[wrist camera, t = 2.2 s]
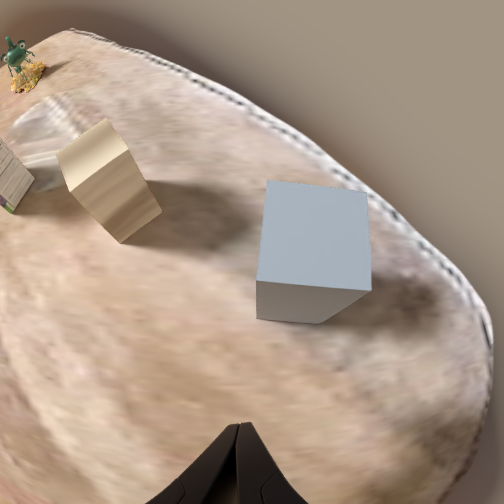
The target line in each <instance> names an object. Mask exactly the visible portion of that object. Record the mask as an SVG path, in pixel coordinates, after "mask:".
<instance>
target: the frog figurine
mask: <svg viewBox="0 0 504 504" xmlns="http://www.w3.org/2000/svg"><path fill="white" fill-rule="evenodd" d="M6 41H7V43H8V45H9V48H10V49H7V51H8V52H9V53H8V55H7V56H5V54H3V55H2V56H1V61H2V58H3V56H5V57H4V59H3V60H4V62H7V64H8V68H9V70H10V72H11V69H10V67H9V65H10V66H11V67H16V69H15V68H14V69H15V70H16V73H17V77H14V78H13V80H14V81H12V85H11V88H12V89H11V91H16V92H20V91H21V90H22V89H25V92H28V91H29V90H31V89H32V88H34V86H35V85H36V82H37V81H38V80H39V79H40V77H41V76H40V75H41V74H42V72H41V71H42V70H43V69H44V68H45V66H46V65H42V63H41V62H38V63H36V64H35V63H34V64H33V63H32V64H31V65H30V64H27V65H26V66H24V67H23V69H22V68H21V63H22V62H23V61H24V60H26V61H27V58H26V56H27V55H29V54H30V53H32V52H30V51H27V50H25V44H24V43H21V42H25V41H24V40H20V41H19V42H18V44H19V43H21V44H20V45H19V46H17V45H16V44H15V45H14V46H13V43H12V41H11V39H10V37H9V36H8V37H6ZM26 52H28V53H29V52H30V53H29V54H26ZM32 55H33V56H35V55H34V54H33V53H32ZM25 58H26V59H25ZM27 62H29V63H30V62H31V61H30V59H29V61H27ZM18 65H19V66H18ZM11 76H12V77H13V75H12V73H11Z"/></svg>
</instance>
